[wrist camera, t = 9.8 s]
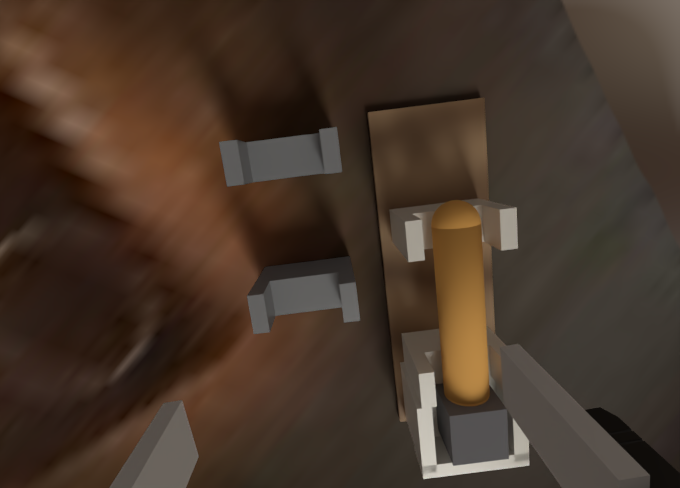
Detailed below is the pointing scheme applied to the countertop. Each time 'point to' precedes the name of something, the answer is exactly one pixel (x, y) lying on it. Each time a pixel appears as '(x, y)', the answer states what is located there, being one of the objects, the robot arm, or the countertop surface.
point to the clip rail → (425, 202)
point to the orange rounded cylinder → (464, 341)
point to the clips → (425, 347)
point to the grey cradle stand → (305, 277)
